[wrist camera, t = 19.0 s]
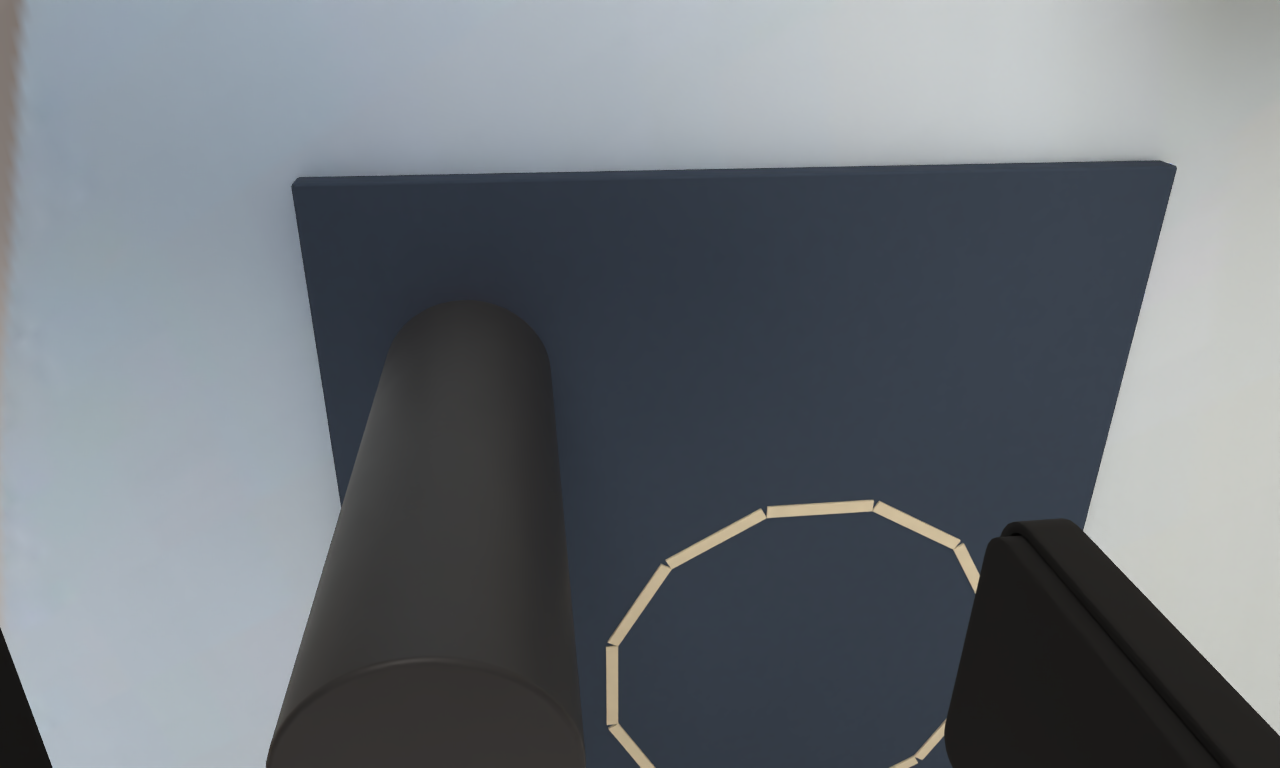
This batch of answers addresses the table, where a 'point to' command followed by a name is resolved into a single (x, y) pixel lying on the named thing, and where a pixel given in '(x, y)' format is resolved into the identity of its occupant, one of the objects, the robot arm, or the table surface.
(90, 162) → the table surface
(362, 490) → the cylinder
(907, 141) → the table surface
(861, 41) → the table surface
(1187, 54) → the table surface
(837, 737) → the desk mat
